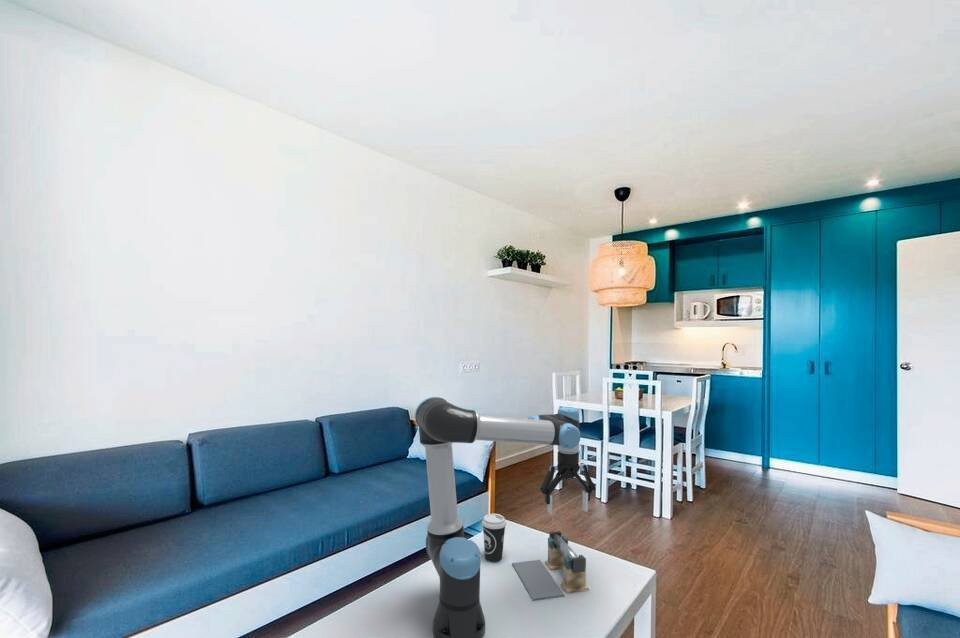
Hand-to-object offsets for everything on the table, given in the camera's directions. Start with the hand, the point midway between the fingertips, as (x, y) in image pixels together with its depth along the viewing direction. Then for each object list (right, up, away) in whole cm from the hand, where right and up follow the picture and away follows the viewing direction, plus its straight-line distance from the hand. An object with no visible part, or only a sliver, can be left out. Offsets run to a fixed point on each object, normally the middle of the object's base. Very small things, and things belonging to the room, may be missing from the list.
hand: (567, 511), depth 151 cm
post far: (-2, -23, +6) cm, 24 cm away
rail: (-1, -16, 0) cm, 16 cm away
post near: (+1, -22, -7) cm, 23 cm away
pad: (-11, -22, -3) cm, 25 cm away
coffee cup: (-26, -23, +11) cm, 36 cm away
